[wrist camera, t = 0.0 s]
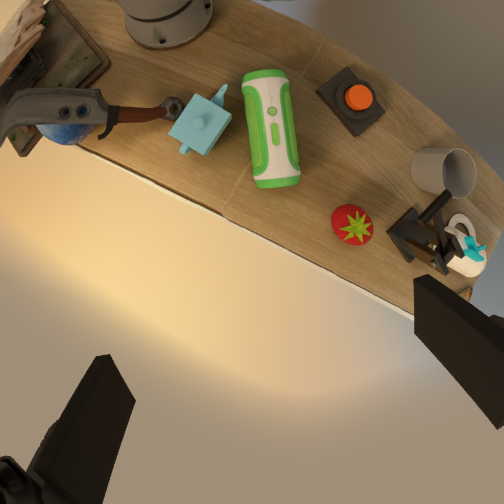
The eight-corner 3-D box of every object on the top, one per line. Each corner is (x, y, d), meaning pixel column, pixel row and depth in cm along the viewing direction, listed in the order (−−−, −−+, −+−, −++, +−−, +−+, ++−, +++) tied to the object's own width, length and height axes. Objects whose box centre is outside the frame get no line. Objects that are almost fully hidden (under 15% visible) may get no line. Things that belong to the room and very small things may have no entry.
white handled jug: (496, 280, 47) (462, 258, 46) (464, 281, 56) (429, 262, 55) (502, 225, 49) (469, 199, 48) (472, 231, 58) (438, 208, 56)
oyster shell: (455, 281, 55) (480, 291, 57) (444, 278, 59) (470, 288, 60) (446, 309, 56) (472, 316, 57) (436, 304, 59) (462, 312, 61)
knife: (178, 149, 48) (-6, 149, 32) (174, 147, 50) (-3, 147, 33) (188, 97, 45) (-1, 89, 28) (183, 96, 46) (2, 90, 30)
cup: (448, 183, 52) (480, 190, 43) (417, 197, 53) (448, 206, 43) (437, 142, 50) (469, 142, 40) (404, 154, 50) (435, 155, 41)
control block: (314, 91, 47) (321, 86, 43) (343, 69, 46) (350, 63, 42) (353, 136, 49) (362, 135, 46) (380, 113, 48) (390, 110, 44)
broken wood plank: (36, 4, 37) (28, -11, 32) (80, -7, 37) (73, -25, 32) (-38, 111, 31) (-53, 97, 27) (1, 104, 32) (-16, 87, 27)
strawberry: (347, 244, 55) (368, 262, 45) (315, 219, 53) (332, 232, 44) (366, 218, 53) (392, 230, 44) (335, 191, 52) (357, 199, 42)
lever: (412, 214, 36) (425, 224, 34) (441, 185, 35) (454, 194, 33) (428, 265, 46) (437, 274, 44) (451, 240, 45) (461, 248, 43)
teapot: (212, 84, 46) (208, 72, 39) (243, 103, 47) (244, 93, 40) (171, 144, 48) (160, 142, 41) (202, 163, 49) (196, 164, 42)
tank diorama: (56, -3, 37) (31, -22, 27) (113, 63, 43) (87, 46, 33) (-27, 96, 41) (-58, 93, 31) (16, 172, 47) (-18, 178, 37)
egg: (125, 110, 47) (55, 69, 36) (111, 145, 43) (32, 102, 33) (100, 137, 52) (37, 102, 41) (87, 172, 48) (17, 136, 37)
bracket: (385, 231, 54) (425, 253, 41) (411, 206, 53) (454, 221, 40) (406, 261, 56) (445, 288, 43) (430, 237, 55) (472, 258, 42)
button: (339, 96, 44) (343, 93, 42) (356, 82, 43) (361, 79, 41) (356, 115, 45) (360, 113, 43) (372, 101, 44) (377, 99, 42)
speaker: (239, 82, 46) (239, 70, 39) (283, 78, 46) (291, 65, 39) (253, 186, 51) (256, 190, 44) (297, 181, 51) (307, 184, 44)
